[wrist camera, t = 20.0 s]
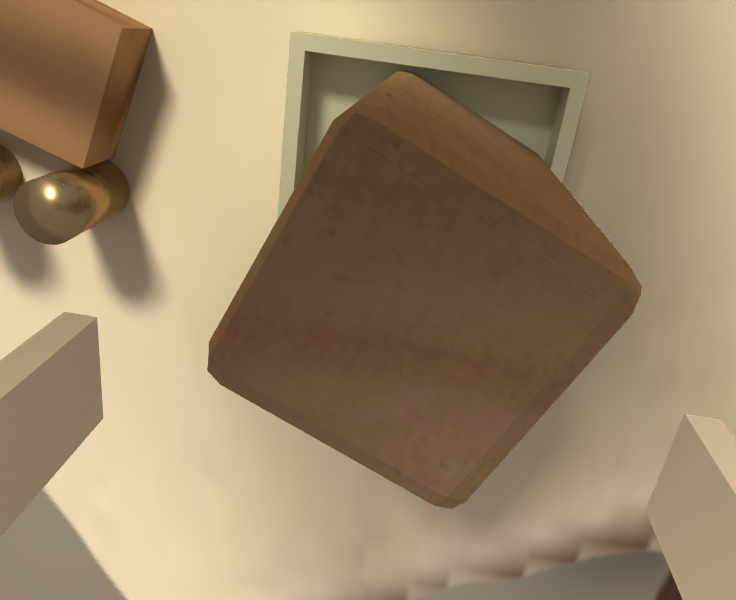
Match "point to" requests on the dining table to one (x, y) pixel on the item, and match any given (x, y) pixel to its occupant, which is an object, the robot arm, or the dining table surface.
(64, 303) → the dining table surface
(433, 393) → the block
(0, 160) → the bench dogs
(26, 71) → the wooden book-shaped slab
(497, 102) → the tray
